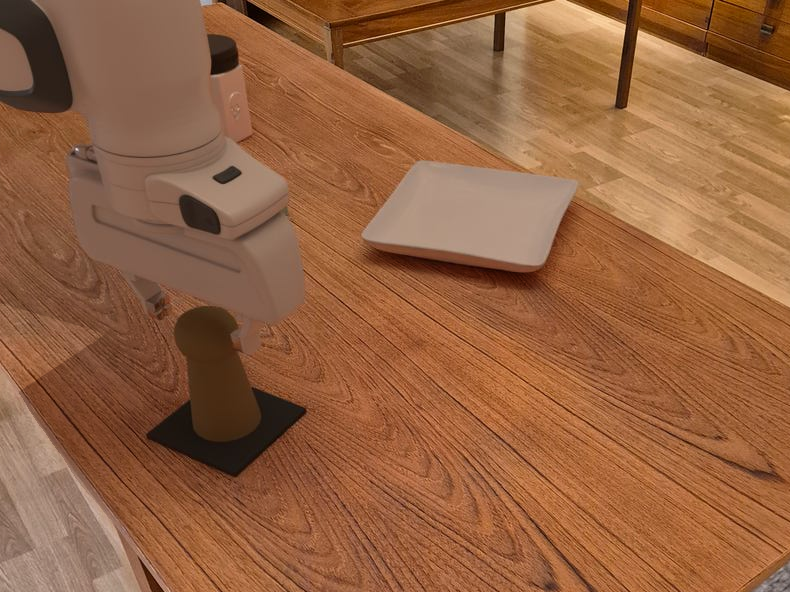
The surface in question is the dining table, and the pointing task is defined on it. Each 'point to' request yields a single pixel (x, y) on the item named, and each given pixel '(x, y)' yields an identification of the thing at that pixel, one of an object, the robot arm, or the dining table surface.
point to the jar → (229, 87)
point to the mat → (233, 453)
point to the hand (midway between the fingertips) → (202, 331)
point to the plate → (472, 216)
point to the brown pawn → (216, 375)
